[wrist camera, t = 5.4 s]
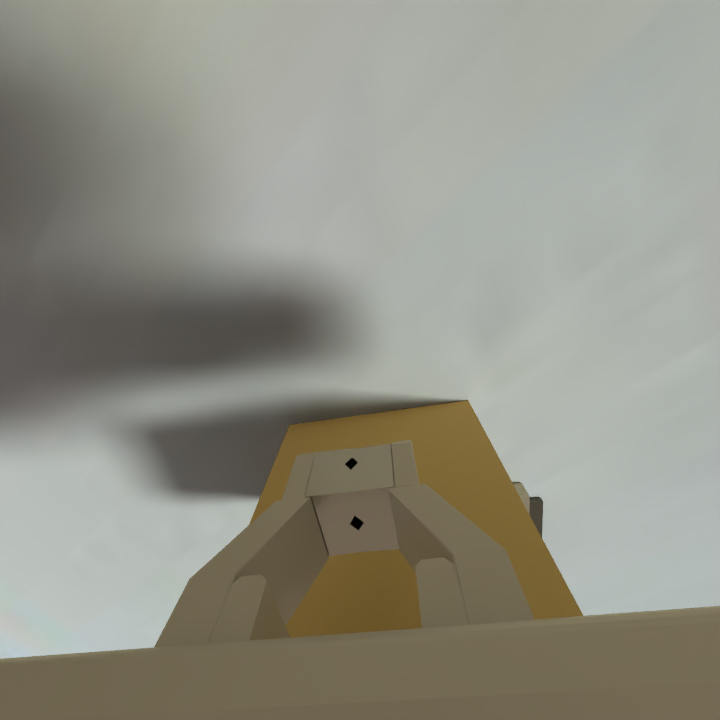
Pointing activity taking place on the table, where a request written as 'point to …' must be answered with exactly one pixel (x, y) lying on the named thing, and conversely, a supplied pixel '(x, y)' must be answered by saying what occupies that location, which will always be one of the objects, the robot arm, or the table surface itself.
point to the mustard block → (449, 480)
